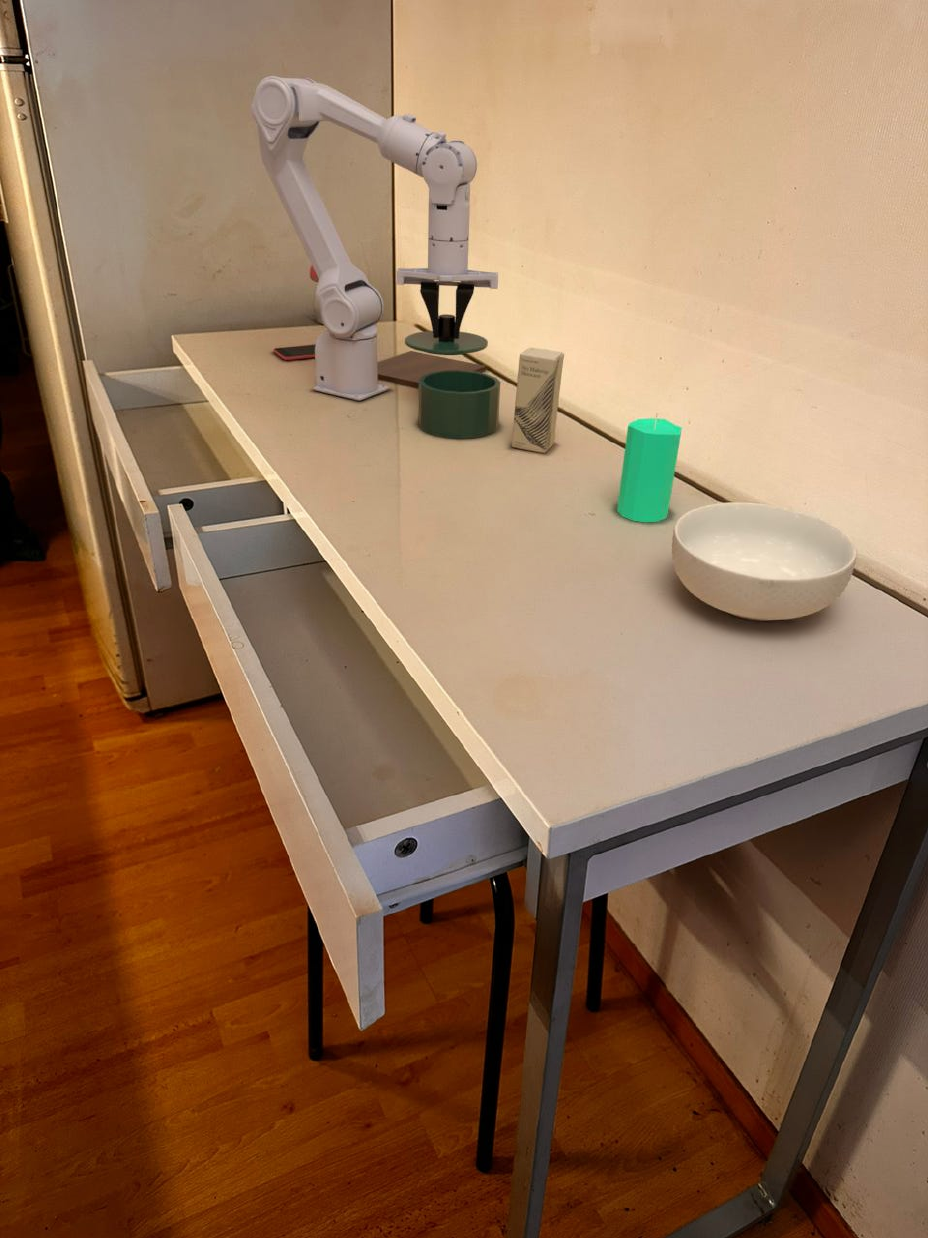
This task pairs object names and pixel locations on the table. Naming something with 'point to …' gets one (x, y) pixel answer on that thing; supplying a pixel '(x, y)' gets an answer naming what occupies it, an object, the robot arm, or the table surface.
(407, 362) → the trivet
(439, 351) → the lid
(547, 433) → the box
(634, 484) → the candle
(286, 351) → the smartphone
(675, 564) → the cereal bowl
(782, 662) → the table surface
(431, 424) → the pot
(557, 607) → the table surface
